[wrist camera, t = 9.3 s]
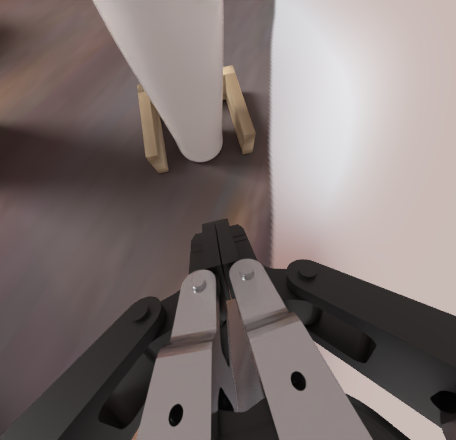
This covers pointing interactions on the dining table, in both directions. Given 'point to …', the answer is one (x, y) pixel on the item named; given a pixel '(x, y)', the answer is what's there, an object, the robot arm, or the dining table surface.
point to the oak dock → (154, 128)
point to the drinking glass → (176, 64)
